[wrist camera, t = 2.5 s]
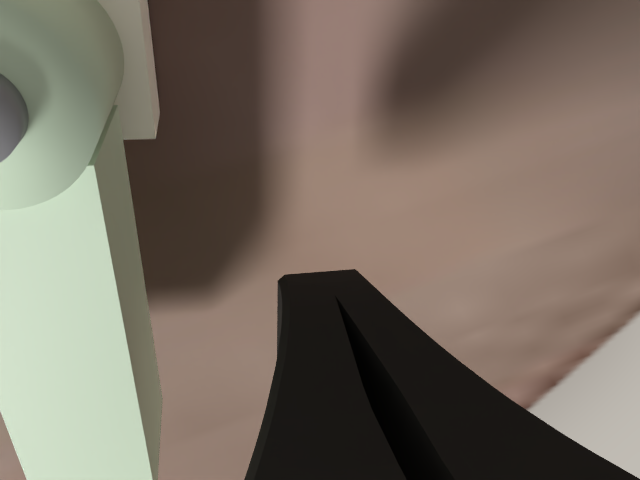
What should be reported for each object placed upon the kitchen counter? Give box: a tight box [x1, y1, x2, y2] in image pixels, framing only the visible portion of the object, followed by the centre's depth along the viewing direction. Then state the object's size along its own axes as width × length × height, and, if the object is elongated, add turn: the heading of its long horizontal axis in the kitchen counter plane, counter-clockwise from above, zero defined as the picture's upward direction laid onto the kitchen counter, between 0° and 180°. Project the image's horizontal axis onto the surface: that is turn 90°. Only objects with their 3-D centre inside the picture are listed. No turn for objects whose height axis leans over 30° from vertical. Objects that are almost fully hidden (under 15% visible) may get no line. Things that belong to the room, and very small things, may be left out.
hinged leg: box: [0, 0, 162, 480], centre depth 8 cm, size 9×2×3 cm, turn 177°
